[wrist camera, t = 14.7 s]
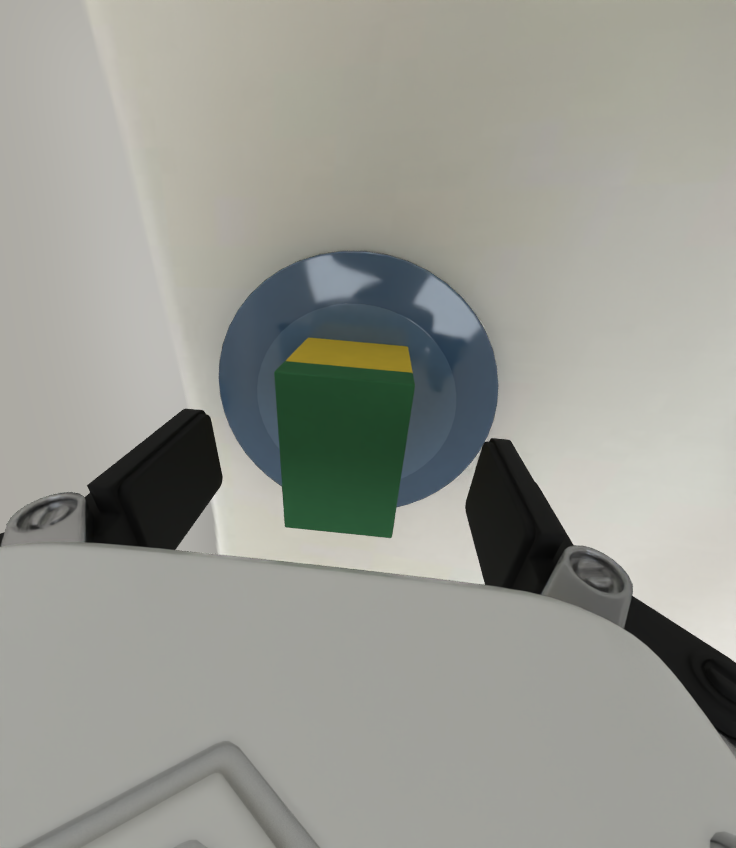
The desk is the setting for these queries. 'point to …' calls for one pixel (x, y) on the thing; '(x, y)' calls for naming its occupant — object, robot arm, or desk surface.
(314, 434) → the sponge
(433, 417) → the plate
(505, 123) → the desk surface
